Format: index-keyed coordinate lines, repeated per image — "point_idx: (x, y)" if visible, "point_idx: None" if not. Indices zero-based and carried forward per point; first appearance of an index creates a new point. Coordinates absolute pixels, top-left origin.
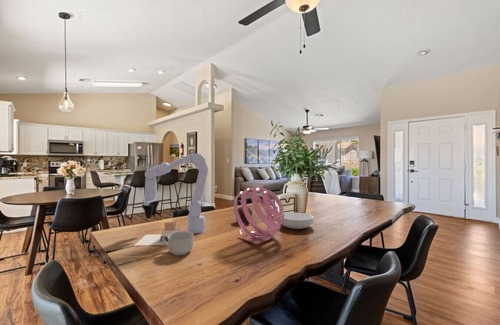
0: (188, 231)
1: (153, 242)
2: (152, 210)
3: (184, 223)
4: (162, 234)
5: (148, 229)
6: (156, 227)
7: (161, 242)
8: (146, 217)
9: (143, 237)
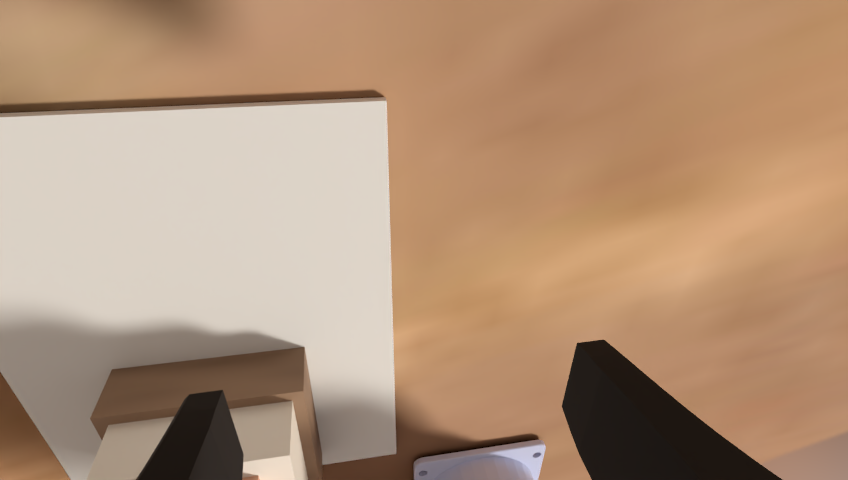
0: (449, 471)
1: (68, 315)
2: (637, 465)
3: (776, 349)
4: (103, 452)
5: (697, 20)
6: (756, 108)
7: (97, 383)
8: (173, 418)
9: (250, 118)
